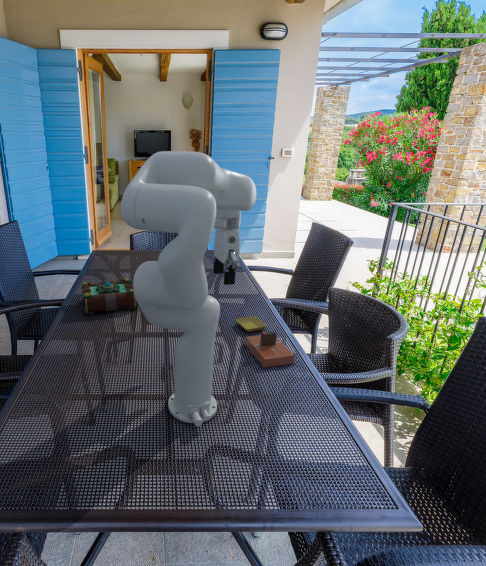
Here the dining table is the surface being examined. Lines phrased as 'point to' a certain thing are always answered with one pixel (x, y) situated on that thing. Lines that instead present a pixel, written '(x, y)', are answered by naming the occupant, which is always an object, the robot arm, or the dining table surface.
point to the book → (108, 296)
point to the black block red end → (268, 338)
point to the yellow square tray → (251, 323)
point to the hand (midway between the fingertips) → (223, 278)
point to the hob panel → (269, 352)
